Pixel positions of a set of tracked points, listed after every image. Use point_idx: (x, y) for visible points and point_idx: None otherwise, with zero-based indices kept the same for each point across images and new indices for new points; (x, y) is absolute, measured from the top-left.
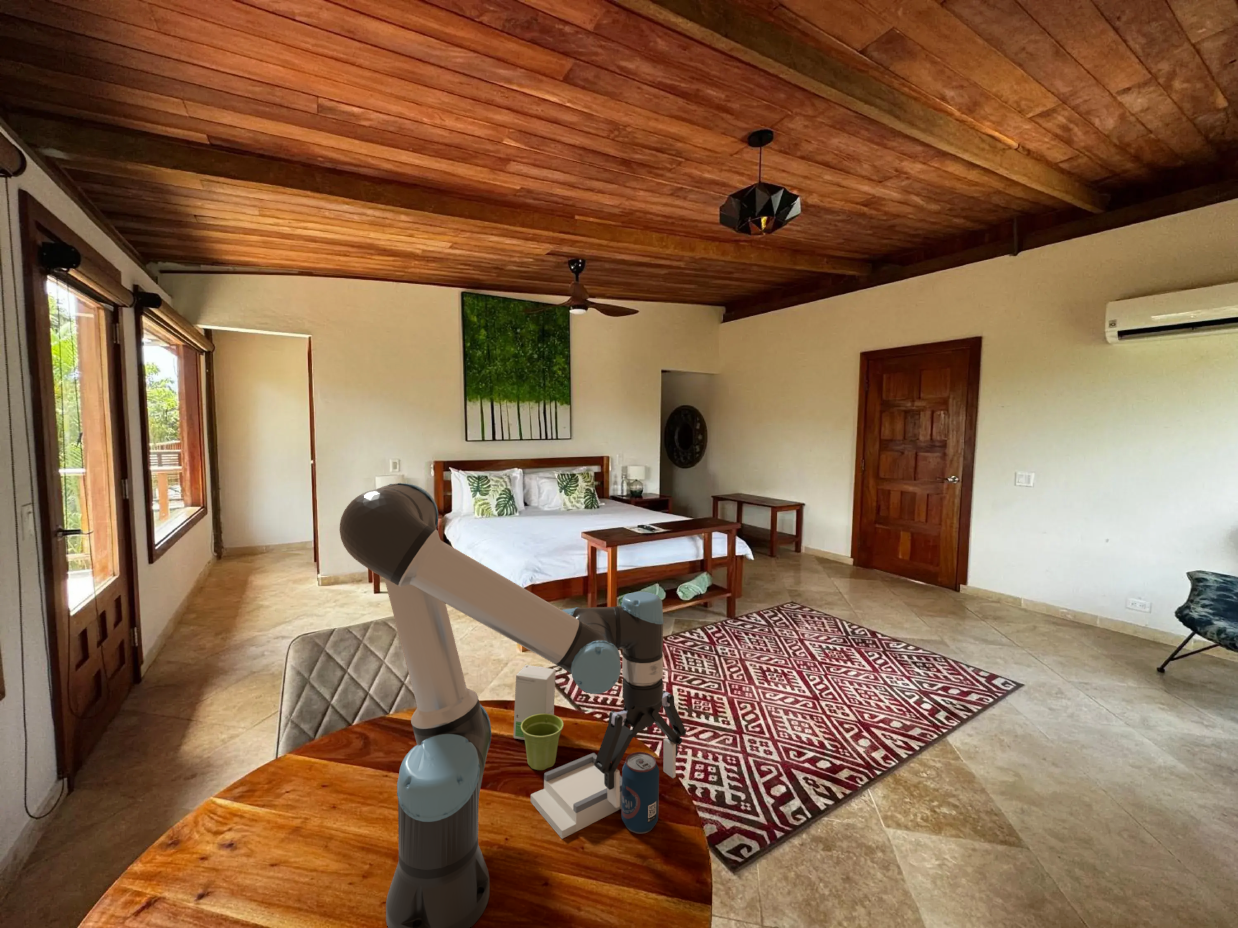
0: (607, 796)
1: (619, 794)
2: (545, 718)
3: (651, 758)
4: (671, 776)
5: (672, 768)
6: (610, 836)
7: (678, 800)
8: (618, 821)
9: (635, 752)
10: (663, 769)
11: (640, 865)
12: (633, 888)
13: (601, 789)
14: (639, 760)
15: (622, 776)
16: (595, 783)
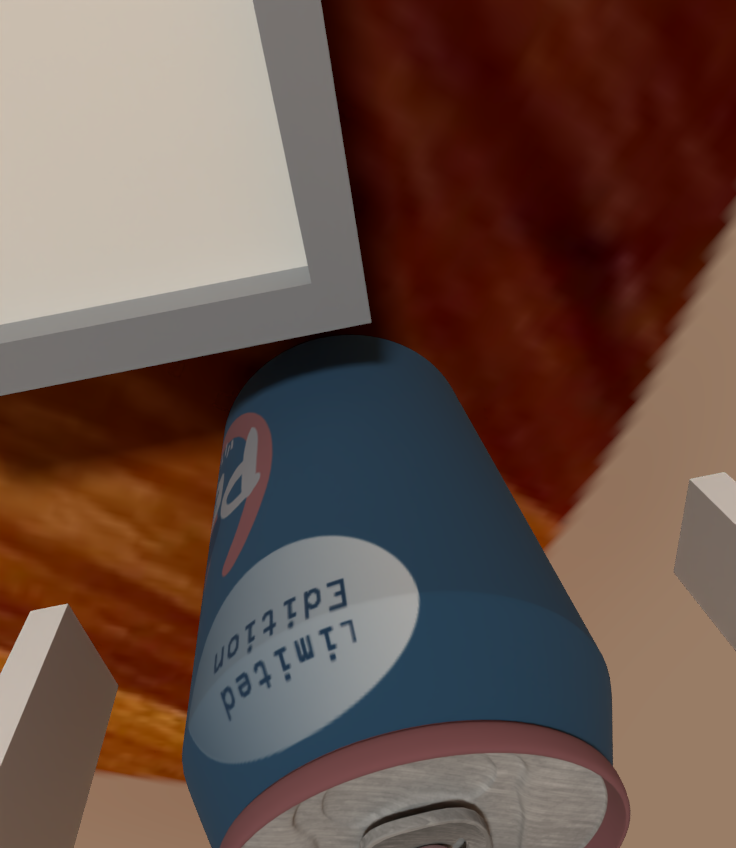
0: (20, 635)
1: (89, 785)
2: None
3: (590, 807)
4: (678, 566)
5: (726, 637)
6: (128, 455)
7: (655, 354)
8: (220, 370)
9: (479, 745)
10: (699, 487)
11: None
12: (141, 698)
13: (108, 212)
14: (424, 841)
15: (193, 673)
16: (63, 77)
